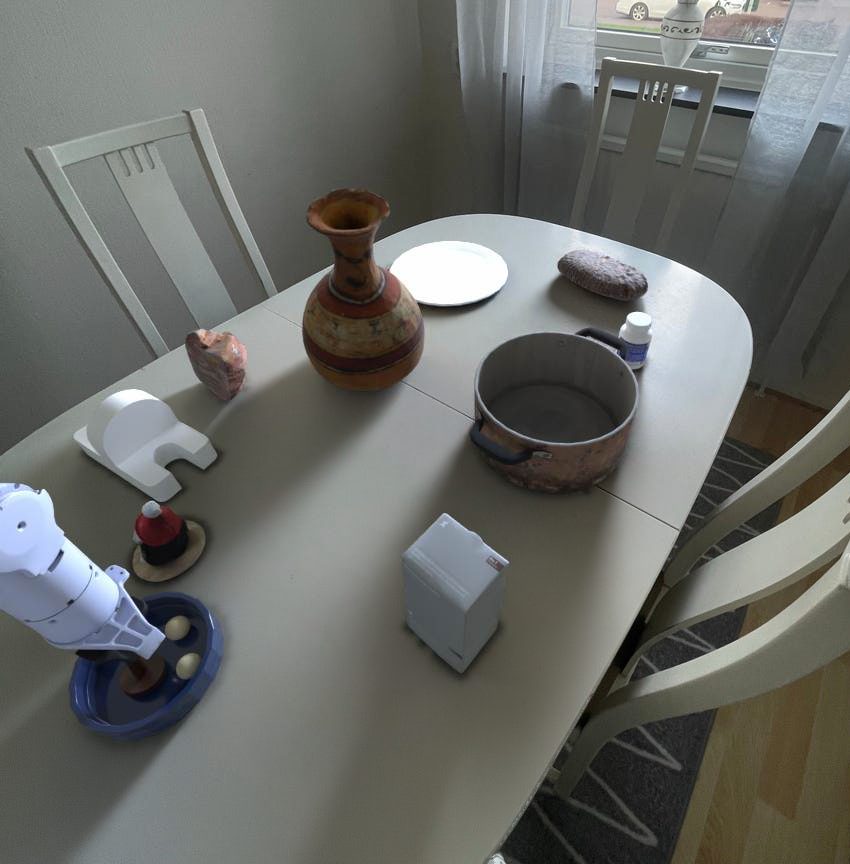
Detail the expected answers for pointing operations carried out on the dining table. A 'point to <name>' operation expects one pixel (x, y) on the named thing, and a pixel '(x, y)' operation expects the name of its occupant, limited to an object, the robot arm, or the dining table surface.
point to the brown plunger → (143, 676)
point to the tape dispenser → (142, 441)
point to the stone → (218, 361)
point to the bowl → (145, 716)
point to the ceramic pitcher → (359, 300)
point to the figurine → (165, 543)
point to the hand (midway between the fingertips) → (132, 647)
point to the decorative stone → (603, 275)
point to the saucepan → (554, 409)
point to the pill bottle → (636, 338)
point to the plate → (450, 273)
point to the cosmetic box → (453, 590)
